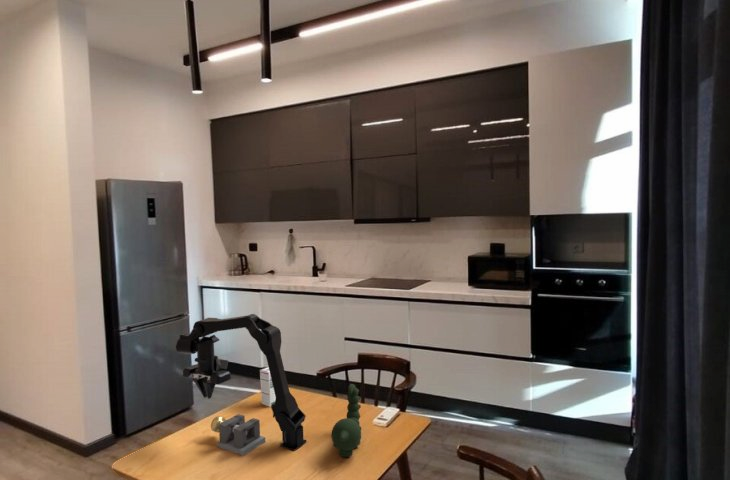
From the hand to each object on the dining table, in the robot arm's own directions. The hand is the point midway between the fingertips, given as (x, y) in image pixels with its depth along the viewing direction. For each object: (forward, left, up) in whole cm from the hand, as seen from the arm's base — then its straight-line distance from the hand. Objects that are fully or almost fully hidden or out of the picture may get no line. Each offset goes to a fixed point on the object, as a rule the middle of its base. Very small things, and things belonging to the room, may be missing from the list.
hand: (207, 397), depth 152 cm
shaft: (-12, 0, -11) cm, 16 cm away
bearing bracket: (-16, 0, -13) cm, 21 cm away
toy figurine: (-49, -16, -13) cm, 53 cm away
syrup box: (-2, -30, -13) cm, 33 cm away
